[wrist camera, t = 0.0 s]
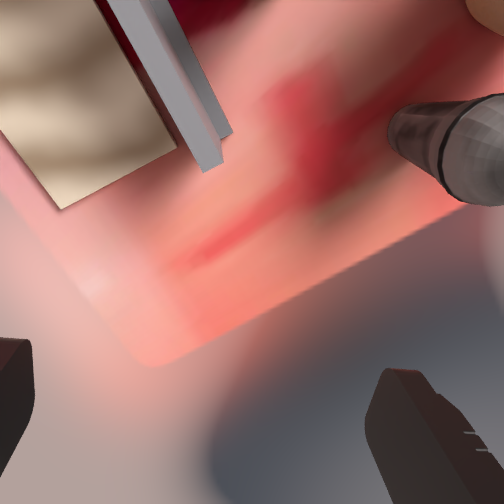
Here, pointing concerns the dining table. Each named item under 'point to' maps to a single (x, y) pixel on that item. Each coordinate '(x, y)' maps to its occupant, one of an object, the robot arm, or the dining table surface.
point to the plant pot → (488, 13)
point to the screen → (175, 75)
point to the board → (73, 98)
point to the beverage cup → (456, 145)
